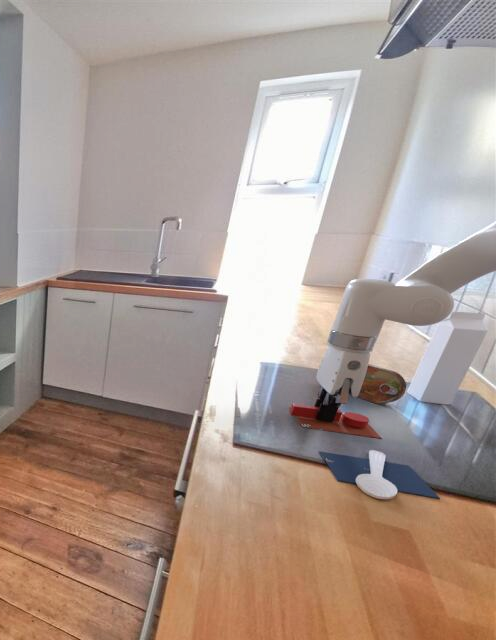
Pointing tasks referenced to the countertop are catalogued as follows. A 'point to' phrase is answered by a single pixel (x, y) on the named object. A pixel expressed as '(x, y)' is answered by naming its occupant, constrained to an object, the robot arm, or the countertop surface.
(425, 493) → the blue mat
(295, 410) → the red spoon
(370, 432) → the terracotta mat
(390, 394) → the tin
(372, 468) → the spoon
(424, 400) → the milk
